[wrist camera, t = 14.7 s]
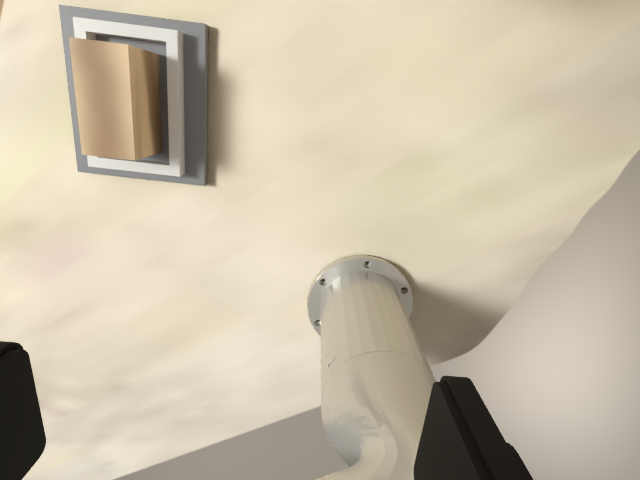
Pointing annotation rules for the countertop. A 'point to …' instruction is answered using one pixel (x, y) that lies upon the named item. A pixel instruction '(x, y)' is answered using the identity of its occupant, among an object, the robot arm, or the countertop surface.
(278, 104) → the countertop surface
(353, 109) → the countertop surface
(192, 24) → the locator board
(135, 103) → the oak block
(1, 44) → the countertop surface
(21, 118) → the countertop surface
